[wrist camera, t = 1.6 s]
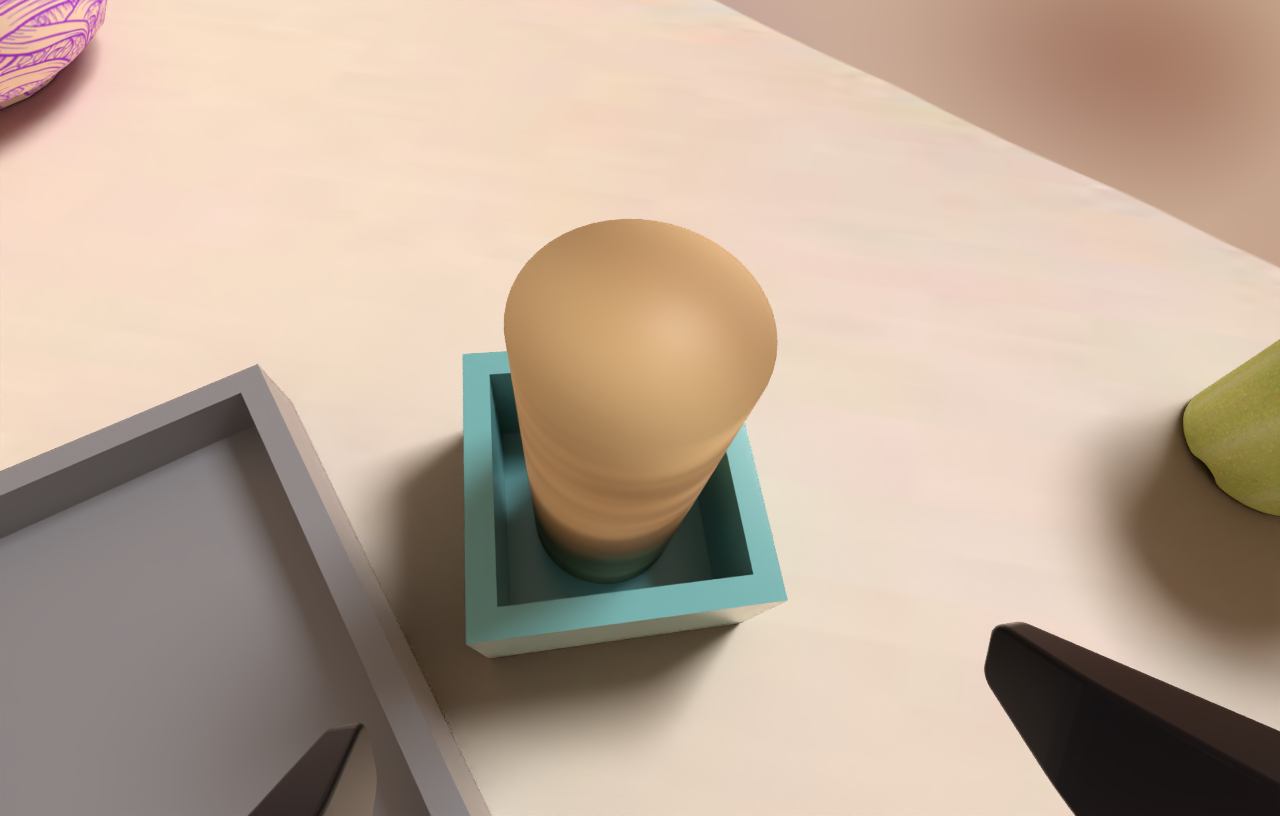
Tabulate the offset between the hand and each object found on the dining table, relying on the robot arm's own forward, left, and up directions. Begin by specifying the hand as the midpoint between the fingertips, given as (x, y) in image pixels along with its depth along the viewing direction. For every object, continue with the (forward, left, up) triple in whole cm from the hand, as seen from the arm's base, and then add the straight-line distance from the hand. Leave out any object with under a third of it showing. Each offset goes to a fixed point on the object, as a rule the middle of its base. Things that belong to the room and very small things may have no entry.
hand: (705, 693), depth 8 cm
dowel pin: (+4, +4, -12) cm, 13 cm away
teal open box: (+4, +4, -12) cm, 14 cm away
